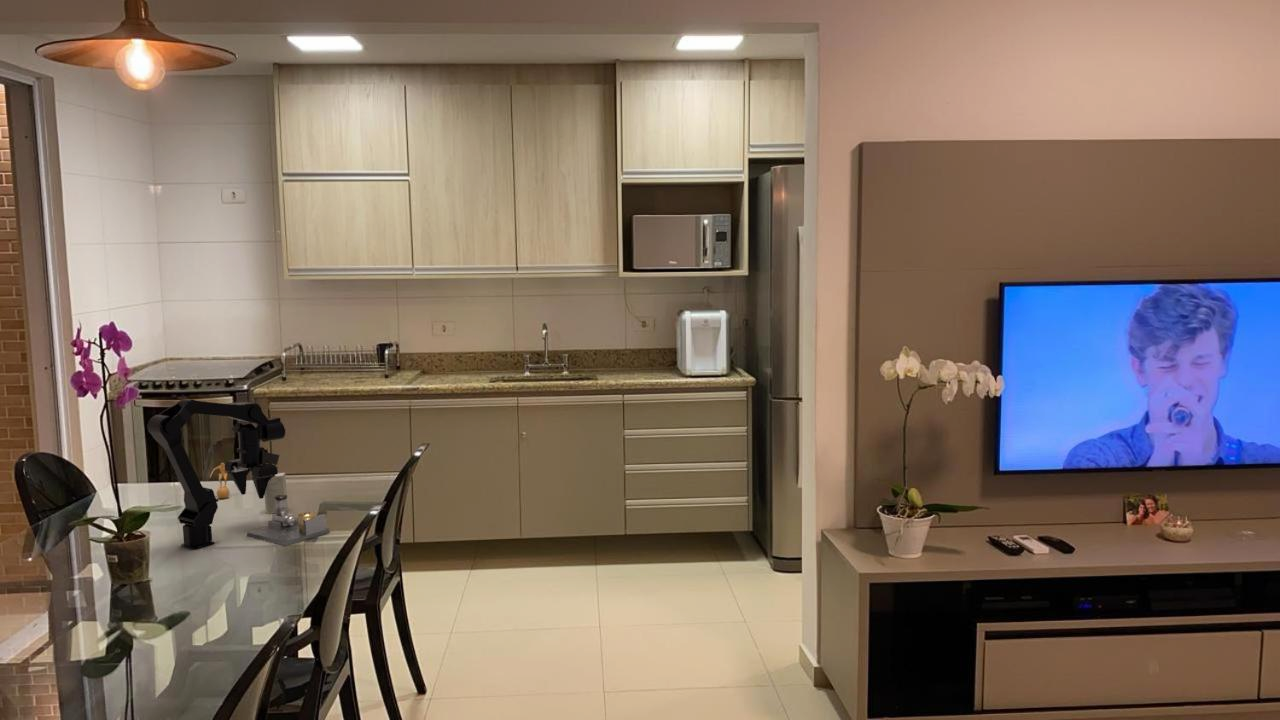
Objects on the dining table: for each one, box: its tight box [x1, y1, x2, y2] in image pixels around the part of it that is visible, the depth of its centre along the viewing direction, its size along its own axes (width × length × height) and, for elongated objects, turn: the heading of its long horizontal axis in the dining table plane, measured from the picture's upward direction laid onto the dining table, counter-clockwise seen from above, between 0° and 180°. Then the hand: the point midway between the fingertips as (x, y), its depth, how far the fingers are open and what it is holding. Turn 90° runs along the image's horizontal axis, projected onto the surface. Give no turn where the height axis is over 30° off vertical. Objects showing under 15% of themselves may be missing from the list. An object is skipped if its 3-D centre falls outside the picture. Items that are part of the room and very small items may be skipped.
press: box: [246, 513, 331, 546], centre depth 273 cm, size 15×18×6 cm
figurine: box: [209, 462, 231, 500], centre depth 318 cm, size 8×6×12 cm
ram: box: [271, 494, 297, 527], centre depth 278 cm, size 4×7×8 cm, turn 56°
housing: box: [297, 510, 317, 533], centre depth 273 cm, size 5×5×5 cm
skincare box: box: [264, 472, 289, 515], centre depth 299 cm, size 6×4×12 cm
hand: (252, 496), depth 278 cm, fingers open, 9 cm apart
